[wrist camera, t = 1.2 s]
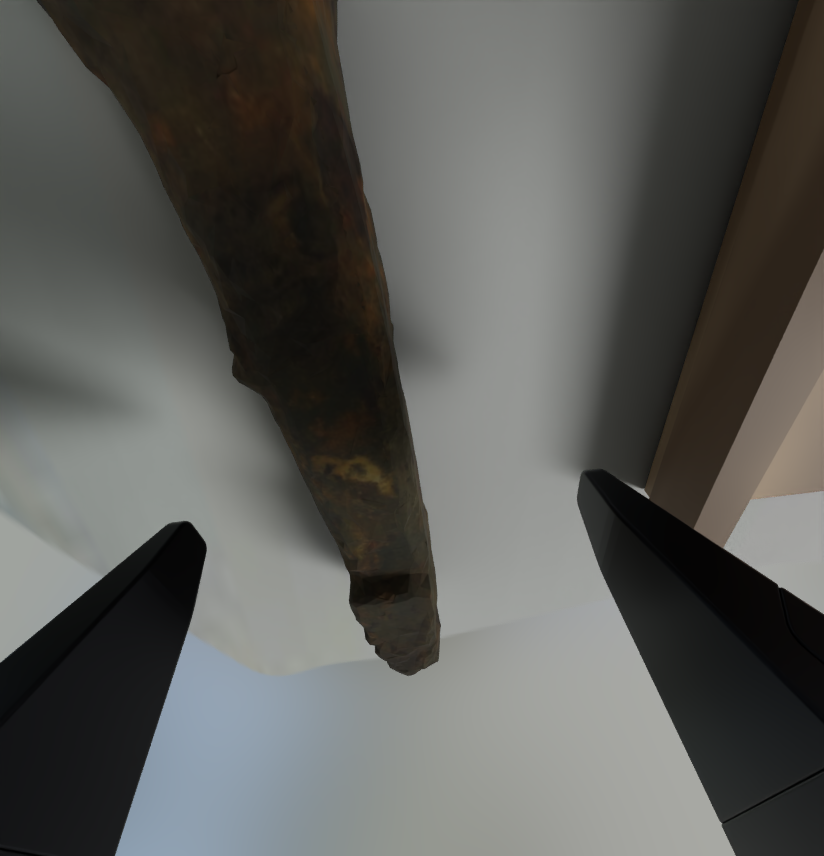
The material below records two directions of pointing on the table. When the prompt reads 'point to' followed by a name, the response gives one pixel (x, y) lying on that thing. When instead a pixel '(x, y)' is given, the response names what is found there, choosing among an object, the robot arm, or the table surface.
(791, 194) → the tool cradle
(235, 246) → the hand tool
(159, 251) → the table surface
